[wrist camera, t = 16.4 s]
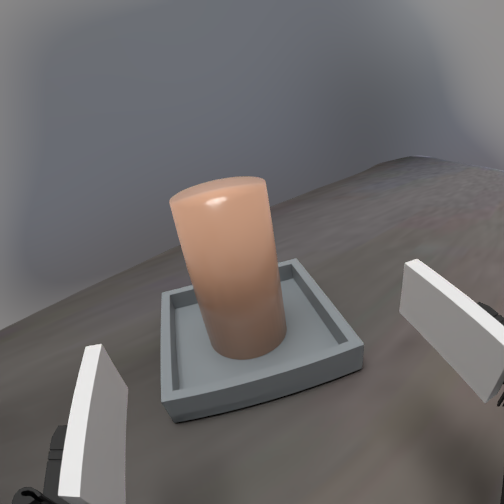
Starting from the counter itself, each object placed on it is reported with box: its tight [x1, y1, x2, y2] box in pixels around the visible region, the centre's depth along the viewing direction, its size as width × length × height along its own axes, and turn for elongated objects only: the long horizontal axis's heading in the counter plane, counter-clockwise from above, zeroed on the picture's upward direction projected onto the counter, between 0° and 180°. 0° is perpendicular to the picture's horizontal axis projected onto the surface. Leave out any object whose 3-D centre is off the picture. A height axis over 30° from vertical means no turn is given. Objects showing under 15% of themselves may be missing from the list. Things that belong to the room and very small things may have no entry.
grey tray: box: [161, 258, 364, 423], centre depth 26 cm, size 14×14×2 cm
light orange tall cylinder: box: [170, 176, 287, 360], centre depth 23 cm, size 6×6×12 cm
